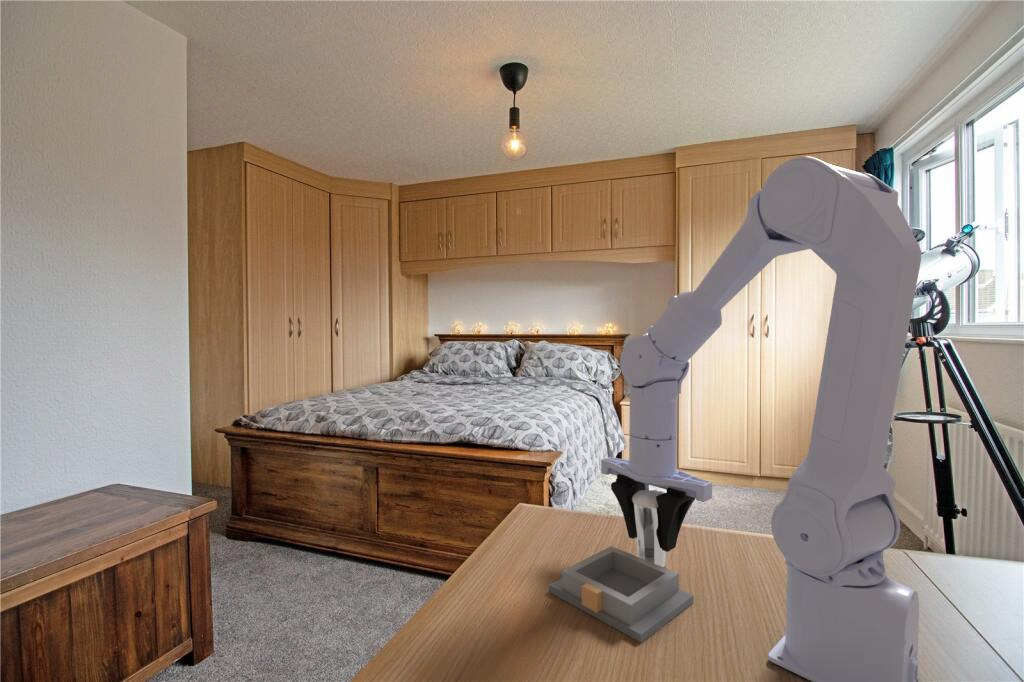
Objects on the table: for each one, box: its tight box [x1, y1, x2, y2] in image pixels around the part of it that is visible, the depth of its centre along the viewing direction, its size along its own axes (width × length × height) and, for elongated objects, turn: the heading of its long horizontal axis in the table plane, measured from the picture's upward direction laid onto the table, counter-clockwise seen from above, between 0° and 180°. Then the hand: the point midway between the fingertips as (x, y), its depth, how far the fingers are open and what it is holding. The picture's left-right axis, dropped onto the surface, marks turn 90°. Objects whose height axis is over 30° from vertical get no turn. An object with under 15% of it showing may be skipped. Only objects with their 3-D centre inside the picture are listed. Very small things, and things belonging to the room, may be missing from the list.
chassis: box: [548, 545, 695, 644], centre depth 55 cm, size 12×10×3 cm
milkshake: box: [632, 484, 667, 568], centre depth 63 cm, size 4×5×10 cm
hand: (651, 542), depth 63 cm, fingers closed on milkshake, 4 cm apart
